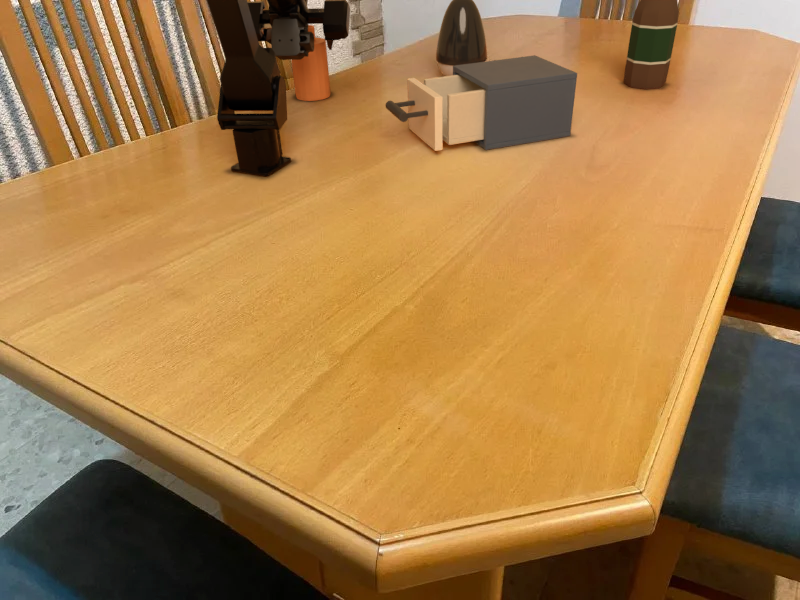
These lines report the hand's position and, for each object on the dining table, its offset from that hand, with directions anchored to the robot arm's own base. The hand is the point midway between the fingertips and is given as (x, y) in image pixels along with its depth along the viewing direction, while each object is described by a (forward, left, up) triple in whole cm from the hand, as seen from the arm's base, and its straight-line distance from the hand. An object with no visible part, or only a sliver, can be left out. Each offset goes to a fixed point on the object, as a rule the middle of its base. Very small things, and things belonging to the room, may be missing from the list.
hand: (306, 48), depth 117 cm
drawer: (-13, -33, -8) cm, 37 cm away
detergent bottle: (+2, +1, -9) cm, 9 cm away
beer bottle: (+29, -57, -9) cm, 64 cm away
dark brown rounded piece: (+23, -22, -9) cm, 33 cm away
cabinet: (-5, -41, -9) cm, 42 cm away
